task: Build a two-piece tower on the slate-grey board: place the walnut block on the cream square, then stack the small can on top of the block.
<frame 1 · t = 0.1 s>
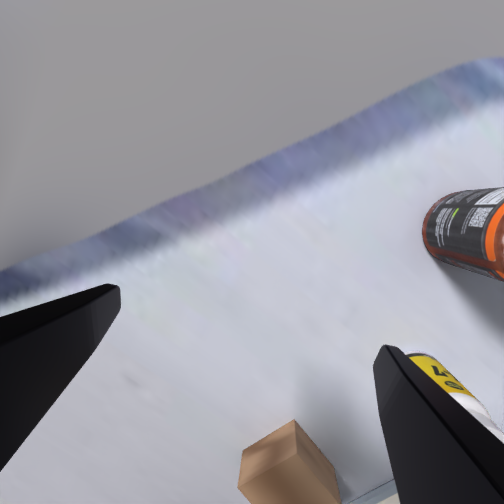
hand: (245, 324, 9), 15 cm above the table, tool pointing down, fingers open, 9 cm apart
supplement bottle 2: (455, 227, 23), on the table
supplement bottle: (411, 371, 25), on the table
block: (287, 456, 28), on the table
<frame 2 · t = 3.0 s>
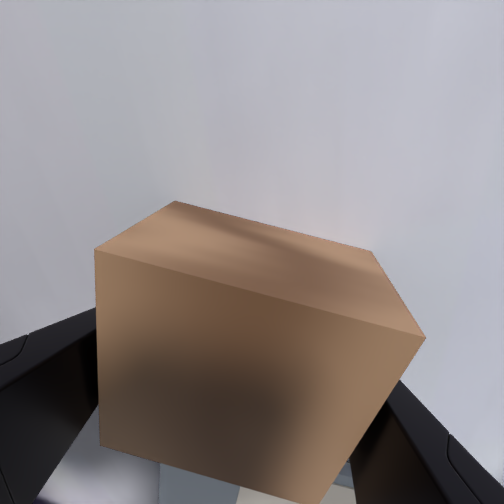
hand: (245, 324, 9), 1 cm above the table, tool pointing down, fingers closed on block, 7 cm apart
block: (250, 306, 10), on the table, touching gripper
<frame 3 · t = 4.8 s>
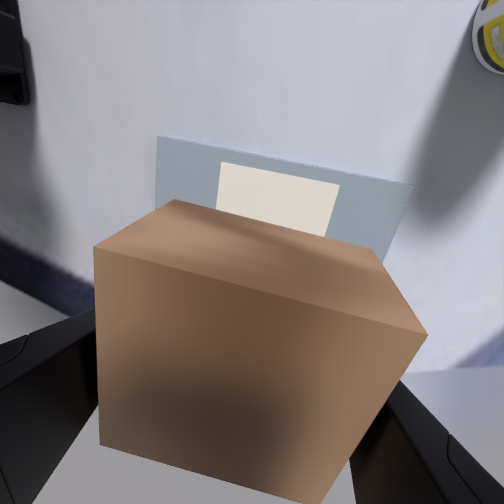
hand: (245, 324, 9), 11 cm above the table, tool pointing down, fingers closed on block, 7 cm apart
board: (269, 226, 19), on the table
block: (250, 305, 10), point 10 cm above the table, touching gripper
when the fingers open (3 cm above the table, at t = 6.8 s): block stays where it is, resting on board.
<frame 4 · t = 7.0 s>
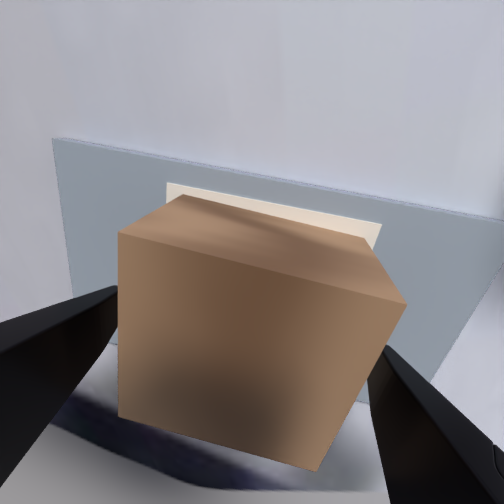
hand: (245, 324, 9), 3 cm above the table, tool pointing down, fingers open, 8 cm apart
board: (256, 285, 12), on the table
block: (253, 292, 11), point 1 cm above the table, touching board
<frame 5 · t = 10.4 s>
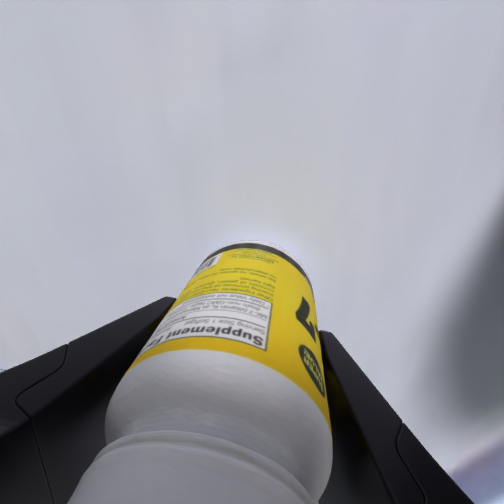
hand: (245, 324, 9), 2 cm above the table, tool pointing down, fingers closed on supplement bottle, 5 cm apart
supplement bottle: (254, 289, 11), on the table, touching gripper
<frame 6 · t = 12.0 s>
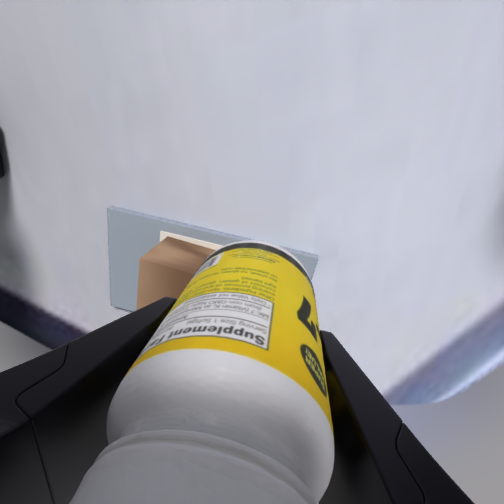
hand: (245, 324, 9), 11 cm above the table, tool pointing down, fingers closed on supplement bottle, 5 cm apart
board: (205, 281, 23), on the table
supplement bottle: (255, 288, 11), point 9 cm above the table, touching gripper
block: (202, 284, 22), point 1 cm above the table, touching board
when the fingers open (7 cm above the table, at t = 13.8 s): supplement bottle stays where it is, resting on block.
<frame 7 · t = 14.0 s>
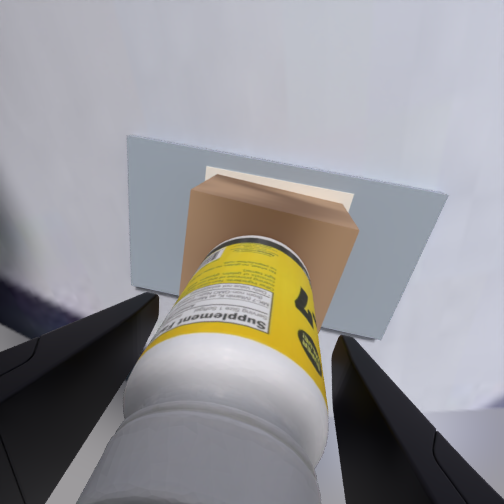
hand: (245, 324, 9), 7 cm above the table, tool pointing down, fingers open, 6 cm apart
board: (266, 243, 16), on the table
supplement bottle: (255, 281, 12), point 5 cm above the table, touching block
block: (265, 246, 15), point 1 cm above the table, touching board, supplement bottle
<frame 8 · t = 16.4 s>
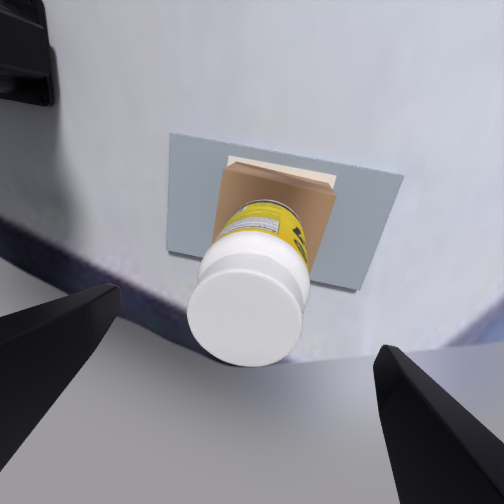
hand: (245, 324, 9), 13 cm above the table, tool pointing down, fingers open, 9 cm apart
board: (272, 215, 21), on the table
supplement bottle: (265, 235, 17), point 4 cm above the table, touching block
block: (271, 216, 20), point 1 cm above the table, touching board, supplement bottle
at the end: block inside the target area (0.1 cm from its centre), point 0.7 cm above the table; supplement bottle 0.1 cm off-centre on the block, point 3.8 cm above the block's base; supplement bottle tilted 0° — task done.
